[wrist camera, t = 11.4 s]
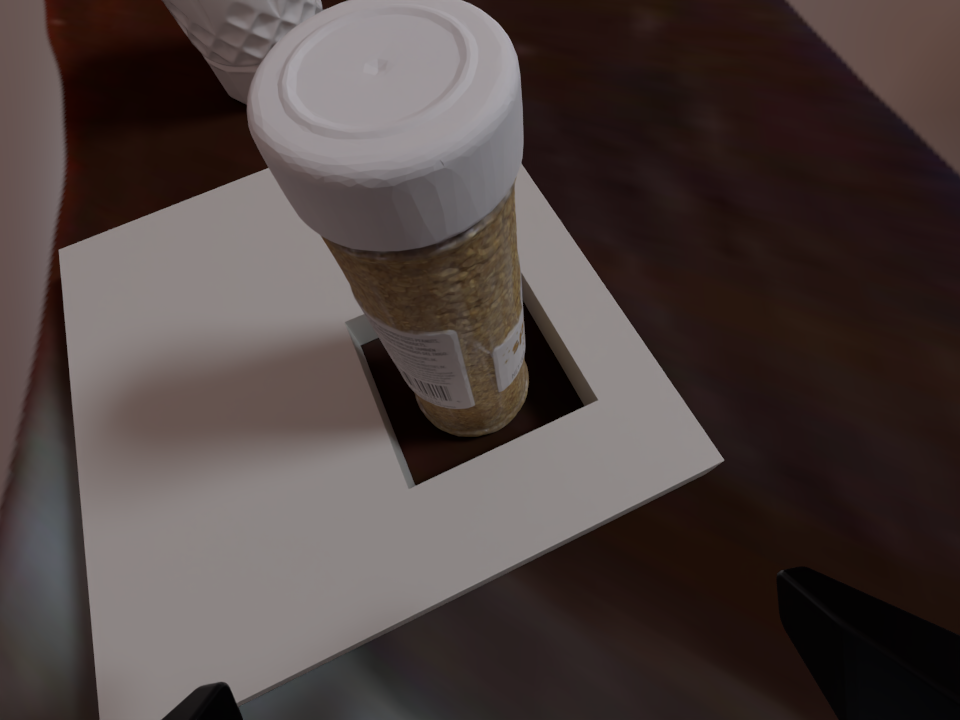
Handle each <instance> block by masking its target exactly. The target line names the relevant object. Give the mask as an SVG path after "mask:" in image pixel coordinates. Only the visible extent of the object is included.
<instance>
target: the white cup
mask: <svg viewBox="0 0 960 720" xmlns="http://www.w3.org/2000/svg"><path fill="white" fill-rule="evenodd" d="M162 1H163V3H164V4H165V5H166V7H167V8H168V10H169V11H170V13H171V14H172V15H173V17H174V18H175V20H176V21H177V22H178V24H179V25H180V27H181V28H182V30H183V31H184V32H185V34H186V35H187V36H188V38H189V39H190V41H191V43H192V44H193V45H194V46H195V47H196V48H197V49H198V50H199V51H200V52H201V53H202V55H203V57H204V58H205V60H206V61H207V62H208V64H209V65H210V67H211V69H212V70H213V72H214V73H215V75H216V76H217V78H218V79H219V81H220V82H221V84H222V86H223V87H224V89H225V90H226V92H227V93H228V95H229V96H230V97H232V98H234V99H236V100H238V101H240V102H242V103H244V104H246V105H247V96H248V92H249V88H250V85H251V82H252V80H253V77H254V75H255V73H256V70H257V68H258V67H259V65H260V63H261V62H262V60H263V59H264V58H265V56H266V55H267V54H268V52H269V51H270V50H271V49H272V47H273V46H274V45H275V44H276V43H277V42H278V41H279V40H280V39H282V38H283V37H284V36H285V35H286V34H287V33H288V32H289V31H291V30H292V29H293V28H295V27H296V26H298V25H299V24H300V23H302V22H303V21H305V20H307V19H308V18H310V17H312V16H314V15H316V14H317V13H319V12H321V11H323V10H322V3H321V0H162Z"/></svg>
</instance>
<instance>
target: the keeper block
mask: <svg viewBox="0 0 960 720" xmlns="http://www.w3.org/2000/svg"><path fill="white" fill-rule="evenodd" d="M514 189H515V212H516V226H517V232H516V234H517V249H518V252H519V258H520V266H521V281H522V300H523V302H524V303H525V305H526V307H527V308H528V310H529V312H530V314H531V315H532V317H533V319H534V320H535V322H536V324H537V326H538V327H539V329H540V331H541V332H542V334H543V336H544V337H545V339H546V341H547V343H548V344H549V346H550V348H551V349H552V351H553V353H554V355H555V356H556V358H557V360H558V361H559V363H560V365H561V367H562V368H563V370H564V372H565V373H566V375H567V377H568V379H569V380H570V382H571V384H572V385H573V387H574V389H575V390H576V392H577V394H578V396H579V397H580V399H581V401H582V402H583V404H584V406H585V407H582V408H580V409H578V410H576V411H574V412H572V413H570V414H568V415H565V416H563V417H561V418H559V419H557V420H555V421H553V422H551V423H548V424H546V425H544V426H542V427H540V428H538V429H536V430H534V431H531V432H529V433H527V434H525V435H523V436H521V437H519V438H517V439H514V440H512V441H510V442H508V443H506V444H504V445H502V446H500V447H497V448H495V449H493V450H491V451H489V452H487V453H485V454H483V455H480V456H478V457H476V458H474V459H472V460H470V461H468V462H465V463H463V464H461V465H459V466H457V467H455V468H453V469H451V470H448V471H446V472H444V473H442V474H440V475H438V476H436V477H434V478H431V479H429V480H427V481H425V482H423V483H421V484H419V485H417V486H415V484H414V481H413V479H412V476H411V474H410V471H409V469H408V466H407V463H406V461H405V458H404V456H403V453H402V451H401V448H400V445H399V443H398V440H397V438H396V435H395V433H394V430H393V428H392V425H391V422H390V420H389V417H388V415H387V412H386V410H385V407H384V404H383V402H382V399H381V397H380V394H379V392H378V389H377V387H376V384H375V381H374V379H373V376H372V374H371V371H370V369H369V366H368V363H367V361H366V358H365V356H364V353H363V351H362V348H361V346H360V345H363V344H365V343H367V342H370V341H372V340H374V339H376V338H379V337H378V335H377V334H376V332H375V331H374V329H373V327H372V326H371V324H370V322H369V321H368V319H367V317H366V316H365V314H364V313H363V311H362V309H361V308H360V306H359V305H358V303H357V301H356V300H355V298H354V296H353V293H352V290H351V287H350V284H349V282H348V280H347V279H346V277H345V275H344V273H343V271H342V270H341V268H340V266H339V265H338V263H337V261H336V260H335V258H334V256H333V255H332V253H331V252H330V250H329V248H328V247H327V245H326V243H325V242H324V240H323V239H322V237H321V235H320V234H318V233H317V232H315V231H314V230H313V229H311V228H310V227H309V226H307V225H306V224H305V223H304V222H303V221H302V220H301V219H300V218H299V216H298V215H297V213H296V212H295V210H294V209H293V207H292V205H291V204H290V202H289V201H288V199H287V198H286V196H285V195H284V193H283V191H282V189H281V188H280V186H279V184H278V183H277V181H276V179H275V178H274V176H273V174H272V173H271V171H270V169H269V168H267V169H265V170H262V171H260V172H257V173H254V174H252V175H249V176H247V177H244V178H242V179H239V180H237V181H234V182H231V183H229V184H226V185H224V186H221V187H219V188H216V189H214V190H211V191H208V192H206V193H203V194H201V195H198V196H196V197H193V198H190V199H188V200H185V201H183V202H180V203H178V204H175V205H173V206H170V207H167V208H165V209H162V210H160V211H157V212H155V213H152V214H150V215H147V216H144V217H142V218H139V219H137V220H134V221H132V222H129V223H126V224H124V225H121V226H119V227H116V228H114V229H111V230H109V231H106V232H103V233H101V234H98V235H96V236H93V237H91V238H88V239H86V240H83V241H80V242H78V243H75V244H73V245H70V246H68V247H65V248H63V249H60V250H59V259H60V270H61V282H62V293H63V305H64V316H65V327H66V339H67V350H68V362H69V373H70V385H71V396H72V408H73V419H74V431H75V442H76V454H77V465H78V477H79V488H80V499H81V511H82V522H83V534H84V545H85V557H86V568H87V580H88V591H89V603H90V614H91V626H92V637H93V649H94V660H95V672H96V683H97V694H98V706H99V717H100V720H161V719H163V718H164V717H165V716H166V715H167V714H168V713H169V712H170V711H171V710H173V709H174V708H175V707H176V706H177V705H178V704H179V703H180V702H182V701H183V700H184V699H185V698H186V697H187V696H188V695H189V694H191V693H192V692H193V691H194V690H195V689H196V688H198V687H200V686H202V685H206V684H211V683H216V682H225V683H227V684H228V685H229V687H230V689H231V691H232V693H233V696H234V698H235V701H236V703H237V706H238V707H239V706H241V705H243V704H245V703H247V702H249V701H251V700H253V699H255V698H257V697H259V696H261V695H263V694H265V693H267V692H269V691H271V690H273V689H275V688H277V687H279V686H281V685H283V684H285V683H287V682H289V681H291V680H293V679H295V678H297V677H299V676H301V675H303V674H305V673H307V672H309V671H311V670H313V669H315V668H317V667H319V666H321V665H323V664H325V663H327V662H329V661H331V660H333V659H335V658H337V657H339V656H341V655H343V654H345V653H347V652H349V651H351V650H353V649H355V648H357V647H359V646H361V645H363V644H365V643H367V642H369V641H371V640H373V639H375V638H377V637H379V636H381V635H383V634H385V633H387V632H389V631H391V630H393V629H395V628H397V627H399V626H401V625H403V624H405V623H407V622H409V621H411V620H413V619H415V618H418V617H420V616H422V615H424V614H426V613H428V612H430V611H432V610H434V609H436V608H438V607H440V606H442V605H444V604H446V603H448V602H450V601H452V600H454V599H456V598H458V597H460V596H462V595H464V594H466V593H468V592H470V591H472V590H474V589H476V588H478V587H480V586H482V585H484V584H486V583H488V582H490V581H492V580H494V579H496V578H498V577H500V576H502V575H504V574H506V573H508V572H510V571H512V570H514V569H516V568H518V567H520V566H522V565H524V564H526V563H528V562H530V561H532V560H534V559H536V558H538V557H540V556H542V555H544V554H546V553H548V552H550V551H552V550H554V549H556V548H558V547H560V546H562V545H564V544H566V543H568V542H570V541H572V540H574V539H576V538H578V537H580V536H582V535H584V534H586V533H588V532H590V531H592V530H594V529H596V528H598V527H600V526H602V525H604V524H606V523H608V522H610V521H612V520H614V519H616V518H618V517H620V516H622V515H624V514H626V513H628V512H630V511H632V510H634V509H636V508H638V507H640V506H642V505H644V504H646V503H648V502H650V501H652V500H654V499H656V498H658V497H660V496H662V495H664V494H666V493H668V492H670V491H672V490H675V489H677V488H679V487H681V486H683V485H685V484H687V483H689V482H691V481H693V480H695V479H697V478H699V477H701V476H703V475H705V474H706V473H708V472H709V471H710V470H712V469H713V468H715V467H716V466H717V465H719V464H720V463H722V462H723V461H724V459H723V458H722V456H721V455H720V453H719V452H718V450H717V449H716V447H715V446H714V445H713V443H712V442H711V440H710V439H709V437H708V436H707V434H706V433H705V431H704V430H703V428H702V427H701V426H700V424H699V423H698V421H697V420H696V418H695V417H694V415H693V414H692V412H691V411H690V409H689V408H688V407H687V405H686V404H685V402H684V401H683V399H682V398H681V396H680V395H679V393H678V392H677V390H676V389H675V388H674V386H673V385H672V383H671V382H670V380H669V379H668V377H667V376H666V374H665V373H664V371H663V370H662V369H661V367H660V366H659V364H658V363H657V361H656V360H655V358H654V357H653V355H652V354H651V352H650V351H649V350H648V348H647V347H646V345H645V344H644V342H643V341H642V339H641V338H640V336H639V335H638V333H637V332H636V331H635V329H634V328H633V326H632V325H631V323H630V322H629V320H628V319H627V317H626V316H625V315H624V313H623V312H622V310H621V309H620V307H619V306H618V304H617V303H616V301H615V300H614V298H613V297H612V296H611V294H610V293H609V291H608V290H607V288H606V287H605V285H604V284H603V282H602V281H601V279H600V278H599V277H598V275H597V274H596V272H595V271H594V269H593V268H592V266H591V265H590V263H589V262H588V260H587V259H586V258H585V256H584V255H583V253H582V252H581V250H580V249H579V247H578V246H577V244H576V243H575V241H574V240H573V239H572V237H571V236H570V234H569V233H568V231H567V230H566V228H565V227H564V225H563V224H562V222H561V221H560V220H559V218H558V217H557V215H556V214H555V212H554V211H553V209H552V208H551V206H550V205H549V204H548V202H547V201H546V199H545V198H544V196H543V195H542V193H541V192H540V190H539V189H538V187H537V186H536V185H535V183H534V182H533V180H532V179H531V177H530V176H529V174H528V173H527V171H526V170H525V168H524V167H523V166H522V164H521V165H520V168H519V171H518V174H517V176H516V181H515V188H514Z"/></svg>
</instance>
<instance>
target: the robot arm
mask: <svg viewBox="0 0 960 720" xmlns="http://www.w3.org/2000/svg"><path fill="white" fill-rule="evenodd" d="M777 592H778V604H779V614H780V619H781V622H782V624H783V627H784V629H785V631H786V633H787V634H788V636H789V638H790V639H791V641H792V643H793V644H794V646H795V648H796V649H797V651H798V653H799V654H800V656H801V658H802V659H803V661H804V663H805V664H806V666H807V668H808V669H809V671H810V673H811V674H812V676H813V678H814V679H815V681H816V683H817V684H818V686H819V688H820V689H821V691H822V693H823V694H824V696H825V698H826V699H827V701H828V703H829V704H830V706H831V708H832V709H833V711H834V713H835V714H836V716H837V718H838V719H839V720H960V635H958V634H955V633H953V632H951V631H949V630H946V629H944V628H942V627H940V626H937V625H935V624H933V623H931V622H929V621H926V620H924V619H922V618H920V617H917V616H915V615H913V614H911V613H908V612H906V611H904V610H902V609H900V608H897V607H895V606H893V605H891V604H888V603H886V602H884V601H882V600H879V599H877V598H875V597H873V596H871V595H868V594H866V593H864V592H862V591H859V590H857V589H855V588H853V587H850V586H848V585H846V584H844V583H841V582H839V581H837V580H835V579H833V578H830V577H828V576H826V575H824V574H821V573H819V572H817V571H815V570H812V569H810V568H807V567H795V568H790V569H785V570H781V571H780V572H778V574H777ZM161 720H243V718H242V715H241V713H240V710H239V708H238V706H237V703H236V701H235V698H234V696H233V693H232V691H231V689H230V687H229V685H228V684H227V683H225V682H216V683H211V684H206V685H202V686H200V687H198V688H196V689H195V690H194V691H193V692H192V693H191V694H189V695H188V696H187V697H186V698H185V699H184V700H183V701H182V702H180V703H179V704H178V705H177V706H176V707H175V708H174V709H173V710H171V711H170V712H169V713H168V714H167V715H166V716H165V717H164V718H163V719H161Z"/></svg>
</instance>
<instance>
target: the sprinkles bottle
mask: <svg viewBox="0 0 960 720" xmlns="http://www.w3.org/2000/svg"><path fill="white" fill-rule="evenodd" d="M247 116H248V125H249V129H250V132H251V135H252V137H253V139H254V141H255V143H256V145H257V147H258V149H259V151H260V153H261V155H262V157H263V158H264V160H265V162H266V164H267V166H268V167H269V169H270V171H271V173H272V174H273V176H274V178H275V179H276V181H277V183H278V184H279V186H280V188H281V189H282V191H283V193H284V195H285V196H286V198H287V199H288V201H289V202H290V204H291V205H292V207H293V209H294V210H295V212H296V213H297V215H298V216H299V218H300V219H301V220H302V221H303V222H304V223H305V224H306V225H307V226H309V227H310V228H311V229H313V230H314V231H315V232H317V233H318V234H320V235H321V237H322V239H323V240H324V242H325V243H326V245H327V247H328V248H329V250H330V252H331V253H332V255H333V256H334V258H335V260H336V261H337V263H338V265H339V266H340V268H341V270H342V271H343V273H344V275H345V277H346V279H347V280H348V282H349V284H350V287H351V290H352V293H353V296H354V298H355V300H356V301H357V303H358V305H359V306H360V308H361V309H362V311H363V313H364V314H365V316H366V317H367V319H368V321H369V322H370V324H371V326H372V327H373V329H374V331H375V332H376V334H377V335H378V337H379V339H380V340H381V342H382V344H383V345H384V347H385V349H386V350H387V352H388V354H389V355H390V357H391V358H392V360H393V362H394V363H395V365H396V367H397V368H398V370H399V372H400V373H401V375H402V376H403V378H404V380H405V381H406V383H407V384H408V386H409V387H410V388H411V389H412V390H413V391H414V393H415V397H416V400H417V403H418V405H419V407H420V409H421V411H422V412H423V413H424V415H425V416H426V418H427V419H428V420H430V421H431V422H432V423H433V424H434V425H435V426H436V427H437V428H439V429H441V430H442V431H445V432H448V433H450V434H452V435H456V436H464V437H478V436H481V435H486V434H489V433H493V432H496V431H498V430H500V429H501V428H503V427H504V426H505V425H507V424H508V423H509V422H510V421H511V420H512V419H513V418H514V417H515V416H516V414H517V412H518V411H519V410H520V409H521V407H522V405H523V404H524V402H525V399H526V396H527V392H528V385H529V375H528V368H527V364H526V363H525V360H524V354H525V329H524V315H523V301H522V281H521V266H520V258H519V252H518V249H517V234H516V232H517V226H516V212H515V189H514V188H515V181H516V176H517V174H518V171H519V168H520V165H521V161H522V156H523V109H522V94H521V79H520V70H519V64H518V57H517V55H516V52H515V50H514V47H513V45H512V42H511V40H510V38H509V36H508V35H507V34H506V32H505V31H504V30H503V29H502V27H501V26H500V25H499V24H498V22H496V21H495V20H494V19H493V18H491V17H490V16H489V15H487V14H486V13H485V12H484V11H482V10H481V9H479V8H477V7H475V6H474V5H472V4H469V3H467V2H465V1H462V0H349V1H346V2H342V3H340V4H337V5H335V6H333V7H330V8H328V9H325V10H323V11H321V12H319V13H317V14H316V15H314V16H312V17H310V18H308V19H307V20H305V21H303V22H302V23H300V24H299V25H298V26H296V27H295V28H293V29H292V30H291V31H289V32H288V33H287V34H286V35H285V36H284V37H283V38H282V39H280V40H279V41H278V42H277V43H276V44H275V45H274V46H273V47H272V49H271V50H270V51H269V52H268V54H267V55H266V56H265V58H264V59H263V60H262V62H261V63H260V65H259V67H258V68H257V70H256V73H255V75H254V77H253V80H252V82H251V85H250V88H249V92H248V96H247Z"/></svg>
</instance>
